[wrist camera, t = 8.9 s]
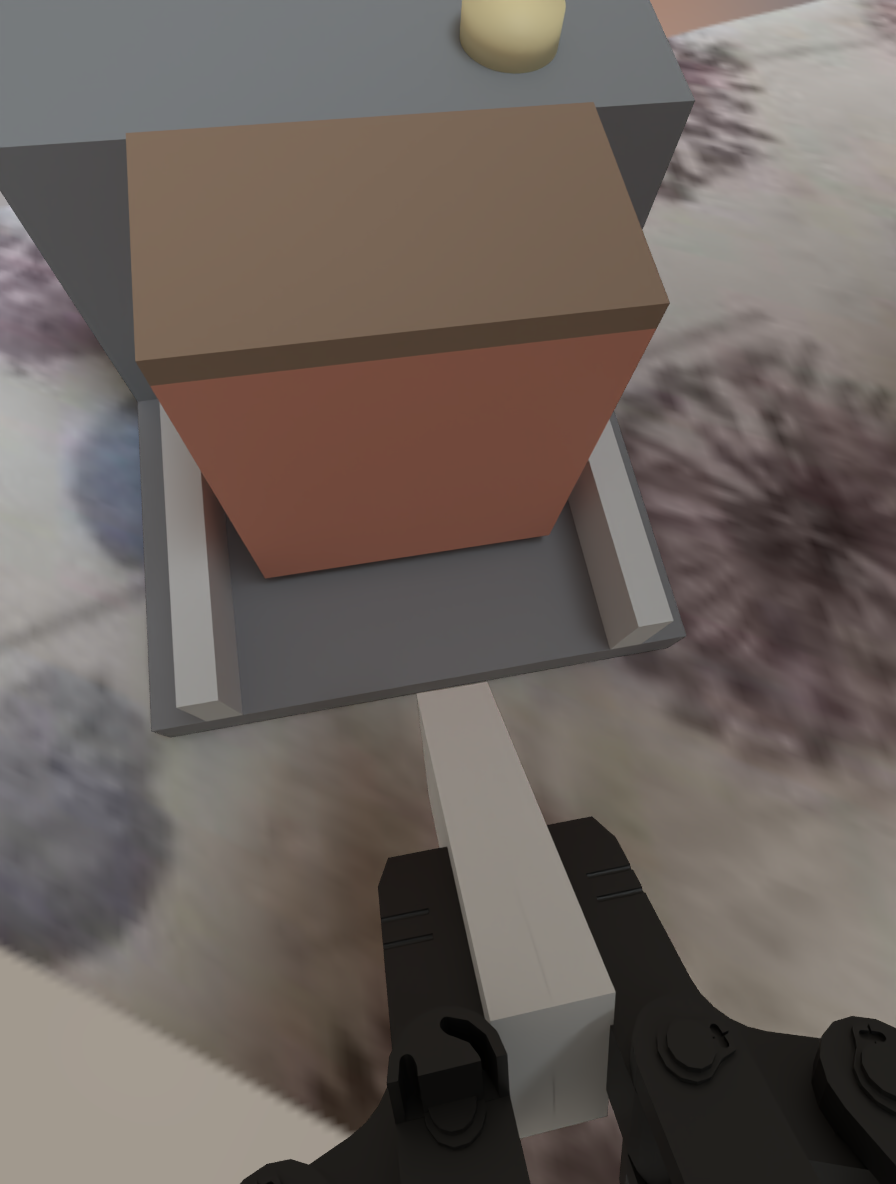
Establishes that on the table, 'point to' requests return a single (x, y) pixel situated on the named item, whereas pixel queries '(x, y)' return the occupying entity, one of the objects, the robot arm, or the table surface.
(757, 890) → the table surface
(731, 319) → the table surface
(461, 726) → the robot arm
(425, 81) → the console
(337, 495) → the orange brown-topped block
